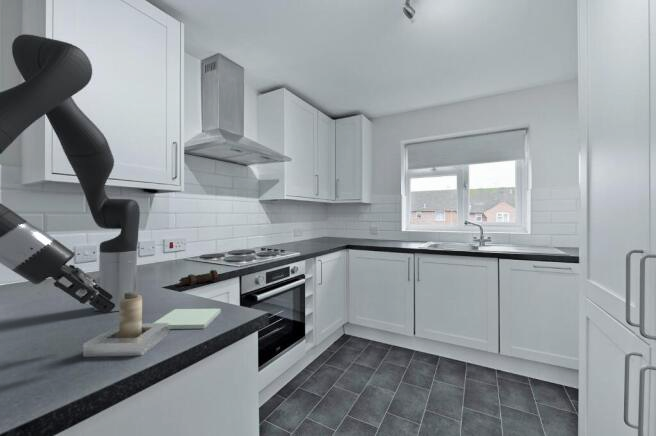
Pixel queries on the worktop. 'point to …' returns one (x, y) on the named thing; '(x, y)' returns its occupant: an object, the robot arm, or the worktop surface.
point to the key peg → (130, 315)
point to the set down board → (189, 318)
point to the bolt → (199, 278)
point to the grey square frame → (126, 341)
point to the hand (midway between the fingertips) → (110, 304)
